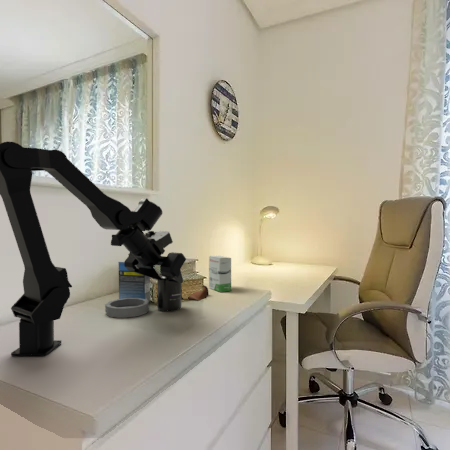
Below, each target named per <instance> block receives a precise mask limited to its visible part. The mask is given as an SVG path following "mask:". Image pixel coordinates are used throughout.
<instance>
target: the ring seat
mask: <svg viewBox="0 0 450 450" xmlns="http://www.w3.org/2000/svg"><path fill="white" fill-rule="evenodd" d="M104 305H105V306H104V307H105V309H104V310H105V314H106V315H107V316H108V317H111V318H117V319H118V318H119V319H124V318H127V319H128V318H134V317H139V316H143V315H145V314H147V313H148V312H149V309H150V301H148V300H146V299H141V298H124V299H119V298H118V299H114V300H109V301H108V302H106V303H105V304H104Z"/></svg>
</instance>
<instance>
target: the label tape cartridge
mask: <svg viewBox="0 0 450 450" xmlns="http://www.w3.org/2000/svg"><path fill="white" fill-rule="evenodd" d="M124 262H125V261H118V299H124V298H141V299H146V300H148V301H149V302H150V301H151V297H150V296H151V279H150V277H147V276H144V275H141V274H138V273H135V272H132V271H129V270H127V269H126V268H125V267H124Z"/></svg>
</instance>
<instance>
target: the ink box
mask: <svg viewBox="0 0 450 450" xmlns="http://www.w3.org/2000/svg"><path fill="white" fill-rule="evenodd" d="M208 289H210V290H213V291H216V292H219V293H223V292H229V291H230V292H231V291H232V257H229V256H228V257H227V256H224V255H223V256H221V255H210V256H208Z"/></svg>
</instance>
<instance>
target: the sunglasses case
mask: <svg viewBox="0 0 450 450" xmlns="http://www.w3.org/2000/svg"><path fill="white" fill-rule="evenodd" d="M202 285H203V291H200V292H196V293H193V294H191V295H190V296H189V297H188V299H189V300H188V301H198V302H199V301H201V300H203V299H204V298H206V297H208V296H209V287H207V286H206V285H205V284H202Z"/></svg>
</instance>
